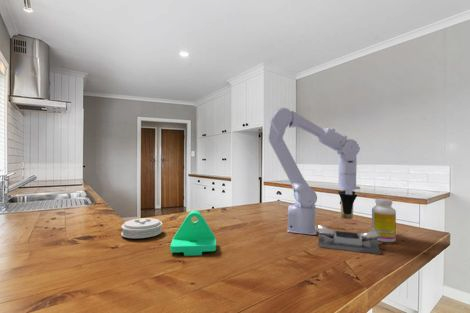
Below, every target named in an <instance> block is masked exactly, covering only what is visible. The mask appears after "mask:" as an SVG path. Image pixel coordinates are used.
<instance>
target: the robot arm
mask: <svg viewBox="0 0 470 313" xmlns="http://www.w3.org/2000/svg"><path fill="white" fill-rule="evenodd" d="M287 128H299V129H302V130H303V131H305V132H307V133H309V134H311V135H312V136H313V135H314V136H315V137H317V139H318V140H319V143H321V144H323V145H325V146H326V147H328V148H330V149H332V150H334V151H335V152H337V154H338V174H337V175H338V177H337V178H338V181H337V182H338V184H337V189H339V190H340V191H339V190H338V191H337V193H338V195H339V197H340V200H342V205H343V212H344V214H351V212H352V207H353V208H354V203H355V201H356V198H357V197H358V195H357V194H356V192H355V191H356V190H361V187H360V186H357V165H358V164H357V162H358V161H357V156H358V154H359V152H360V150H361V147H360V146H359V143H358V142H357V141H356V140H355V139H352V138H349V139H348V136H347V135H345V134H344V135H343V134H341V133H339V132H337V131H336V128H334V127H331V128H329V127H326V128H322V127H321V126H319V125H317V124H316V123H314V122H312V121H311V120H309V119H307V118H305V117H304V116H302V115H300V114H299V113H297V112H296V111H294V110H290V109H289V108H287V107H279V108H278V109H276V110H275V111H274V114H273V116H272V117H271V119H270V121H269V127H268V137H267V140H268V142H269V144H270V146H271V147H272V150H273V152H274V154H275V155H276V157H277V159H278V161H279V163H280V165H281V167H282V170H283V171H284V173H285V174H286V177H287V178H288V180H289V183H290V185H291V188H292V190H293V198H294V199H295V200H296V201H295V202H294V204H291V205H290V204H289V205H288V209H287V233H294V234H300V235H301V234H302V235H313V236H316V235H317V232H316V231H317V228H318V227H316V203H317V201H318V195H317V193H316V191H315V190H314V189H312V188H311V187H310V186H309V184H308V182H307V181H306V179H305V178H304V176H303V174H302V173H301V171H300V169H299V167H298V165H297V163H296V161H295V159H294V158H293V155H292V154H291V151H290V149H289V148H288V146H287V144H286V142H285V140H284V135H285V132H286V129H287Z"/></svg>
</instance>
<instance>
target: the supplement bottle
mask: <svg viewBox="0 0 470 313" xmlns="http://www.w3.org/2000/svg"><path fill="white" fill-rule="evenodd" d="M374 200H375V205H374V206H373V207H372V208H371V231H373V230H377V231H378V233H379V235H380V238H379V239H377V240H378V242H382V243H383V242H384V243H393V242H396V239H397V238H396V237H397V219H396V218H397V211H396V209H395V208H393V207H392V205H393V200H392V199H389V198H375V199H374Z"/></svg>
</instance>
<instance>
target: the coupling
mask: <svg viewBox="0 0 470 313" xmlns="http://www.w3.org/2000/svg"><path fill="white" fill-rule="evenodd" d="M340 218H341V219H345V220H346V219H347V220H353V219H354V206H353V207H352V212H351V214H344V212H343V205H342V200H341V199H340Z"/></svg>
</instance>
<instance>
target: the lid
mask: <svg viewBox="0 0 470 313" xmlns="http://www.w3.org/2000/svg"><path fill="white" fill-rule="evenodd" d="M162 225H163V222H162V221H161V220H160V219H159V218H151V217H145V218H143V217H142V218H133V219H130V220H127V221H125V222H124V223H123V224H122V225H120V226H121V229H122V231H121V234H120V235H121V236H122V237H124V238H128V239H145V238H151V237H152V238H153V237H155V236H158V235H160V234H162V232H163V229H162Z"/></svg>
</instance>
